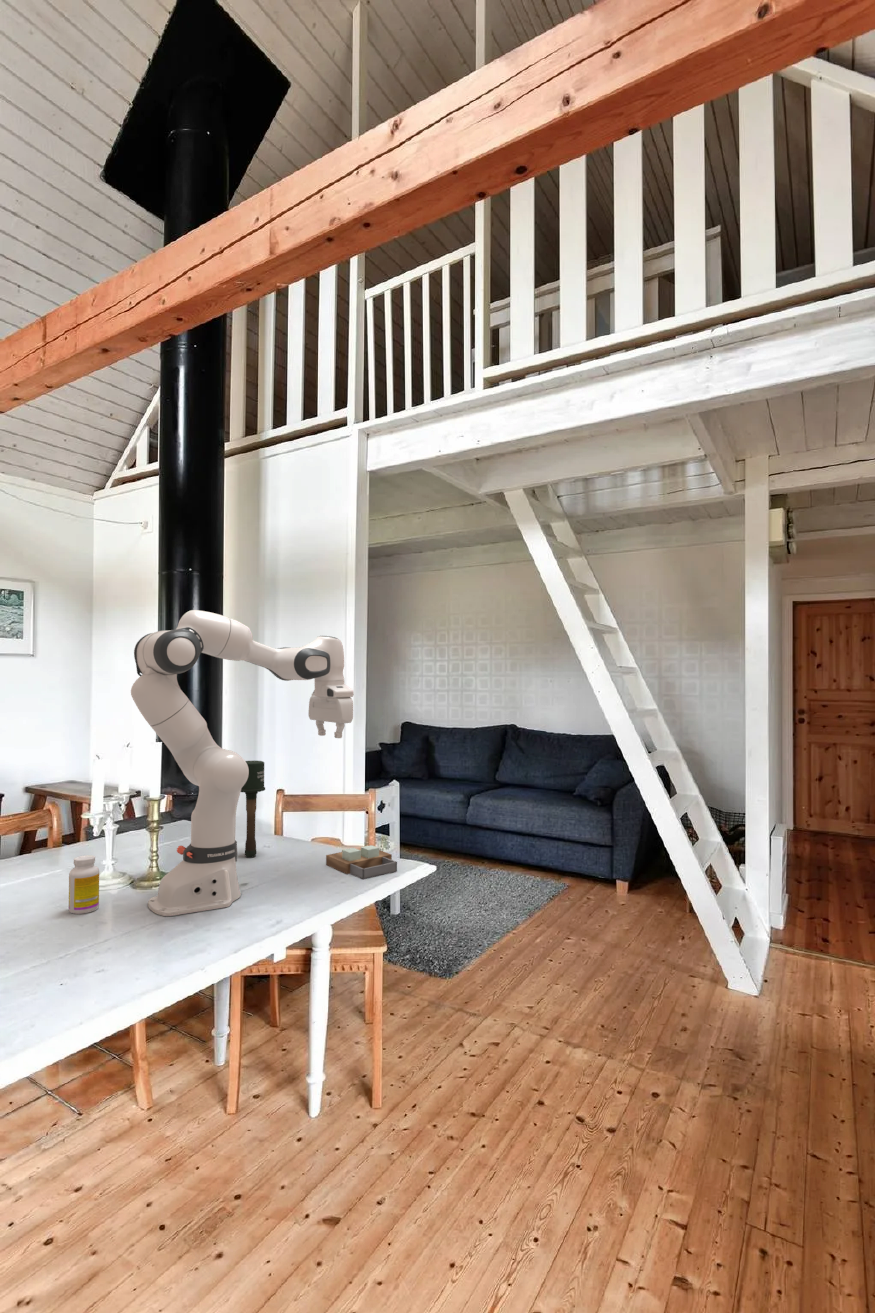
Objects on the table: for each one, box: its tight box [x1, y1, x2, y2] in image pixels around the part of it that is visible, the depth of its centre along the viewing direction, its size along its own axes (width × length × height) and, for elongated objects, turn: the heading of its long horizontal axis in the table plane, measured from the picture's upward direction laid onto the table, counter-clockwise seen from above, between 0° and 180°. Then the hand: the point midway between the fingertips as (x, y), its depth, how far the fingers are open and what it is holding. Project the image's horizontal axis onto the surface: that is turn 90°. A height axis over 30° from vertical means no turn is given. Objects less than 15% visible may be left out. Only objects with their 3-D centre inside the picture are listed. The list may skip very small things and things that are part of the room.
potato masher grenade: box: [240, 760, 266, 859], centre depth 212 cm, size 8×9×30 cm
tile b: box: [360, 844, 380, 858], centre depth 203 cm, size 4×4×2 cm
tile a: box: [341, 847, 361, 861], centre depth 200 cm, size 4×4×2 cm
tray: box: [349, 857, 398, 880], centre depth 196 cm, size 12×7×3 cm, turn 130°
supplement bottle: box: [68, 854, 100, 915], centre depth 164 cm, size 7×7×13 cm
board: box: [325, 847, 393, 875], centre depth 204 cm, size 16×12×3 cm
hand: (329, 736), depth 199 cm, fingers open, 8 cm apart
